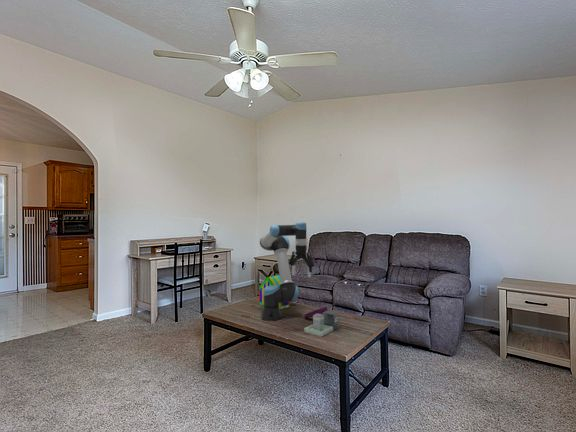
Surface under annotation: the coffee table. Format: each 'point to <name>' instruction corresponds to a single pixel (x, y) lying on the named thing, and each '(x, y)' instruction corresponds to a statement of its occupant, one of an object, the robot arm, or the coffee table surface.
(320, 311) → the mounting bracket
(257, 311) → the coffee table surface
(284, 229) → the robot arm
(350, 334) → the coffee table surface
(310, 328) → the tray
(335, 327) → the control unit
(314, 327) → the module
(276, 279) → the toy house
